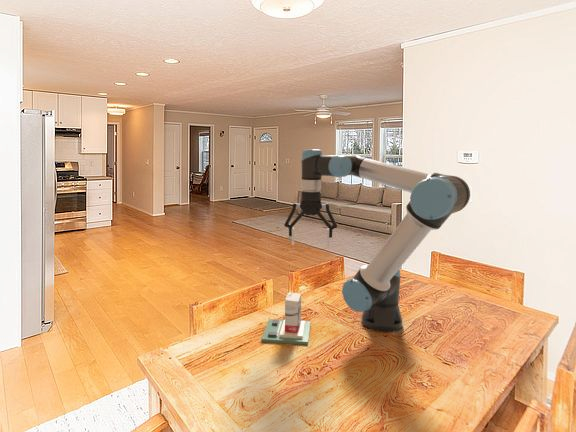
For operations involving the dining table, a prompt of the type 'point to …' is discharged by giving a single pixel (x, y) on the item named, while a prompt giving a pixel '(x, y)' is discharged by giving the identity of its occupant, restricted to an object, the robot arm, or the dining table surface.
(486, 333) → the dining table surface
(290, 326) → the ink box
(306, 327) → the board
